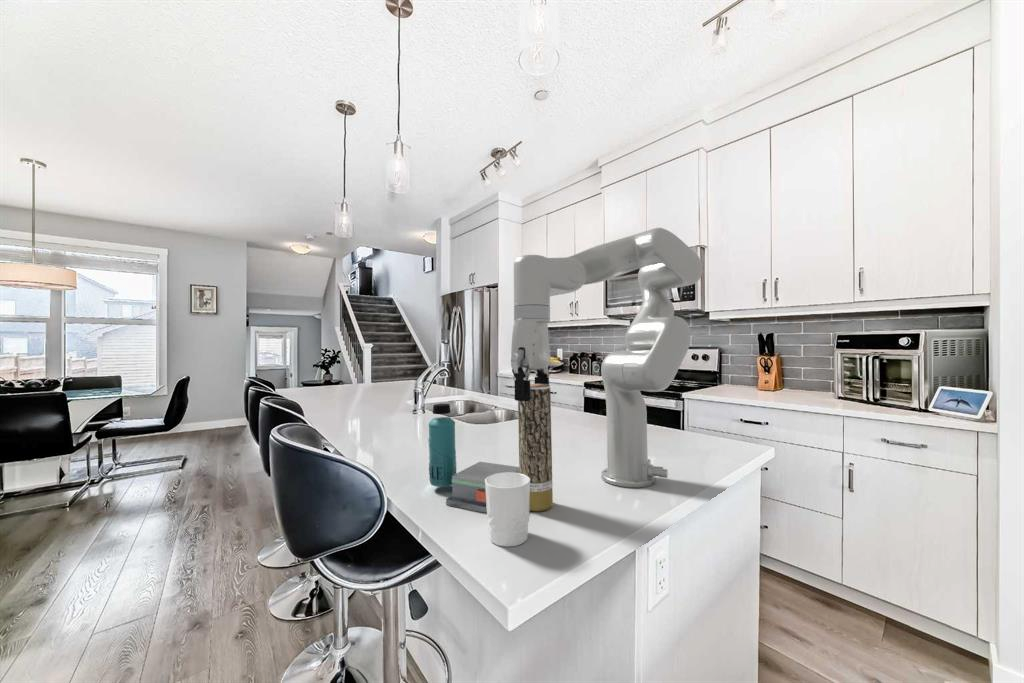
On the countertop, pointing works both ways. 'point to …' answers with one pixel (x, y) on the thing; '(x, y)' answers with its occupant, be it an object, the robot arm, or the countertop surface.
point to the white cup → (508, 508)
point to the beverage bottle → (442, 447)
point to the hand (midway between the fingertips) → (532, 397)
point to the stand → (474, 485)
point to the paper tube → (536, 445)
